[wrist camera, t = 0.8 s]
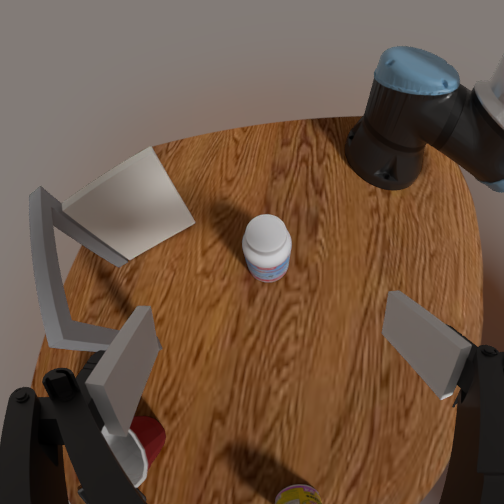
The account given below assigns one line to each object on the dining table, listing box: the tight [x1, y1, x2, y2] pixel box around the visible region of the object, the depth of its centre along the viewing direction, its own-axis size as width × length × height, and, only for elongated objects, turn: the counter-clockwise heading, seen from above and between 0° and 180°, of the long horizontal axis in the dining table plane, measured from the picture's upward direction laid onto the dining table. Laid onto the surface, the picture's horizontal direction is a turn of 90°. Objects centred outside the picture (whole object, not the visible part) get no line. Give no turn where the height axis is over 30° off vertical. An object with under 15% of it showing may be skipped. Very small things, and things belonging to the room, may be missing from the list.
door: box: [62, 146, 195, 260], centre depth 36 cm, size 13×2×18 cm, turn 118°
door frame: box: [29, 186, 162, 352], centre depth 31 cm, size 2×18×22 cm, turn 28°
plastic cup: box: [102, 416, 166, 488], centre depth 28 cm, size 11×11×12 cm
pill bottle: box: [242, 214, 292, 282], centre depth 36 cm, size 6×6×11 cm
